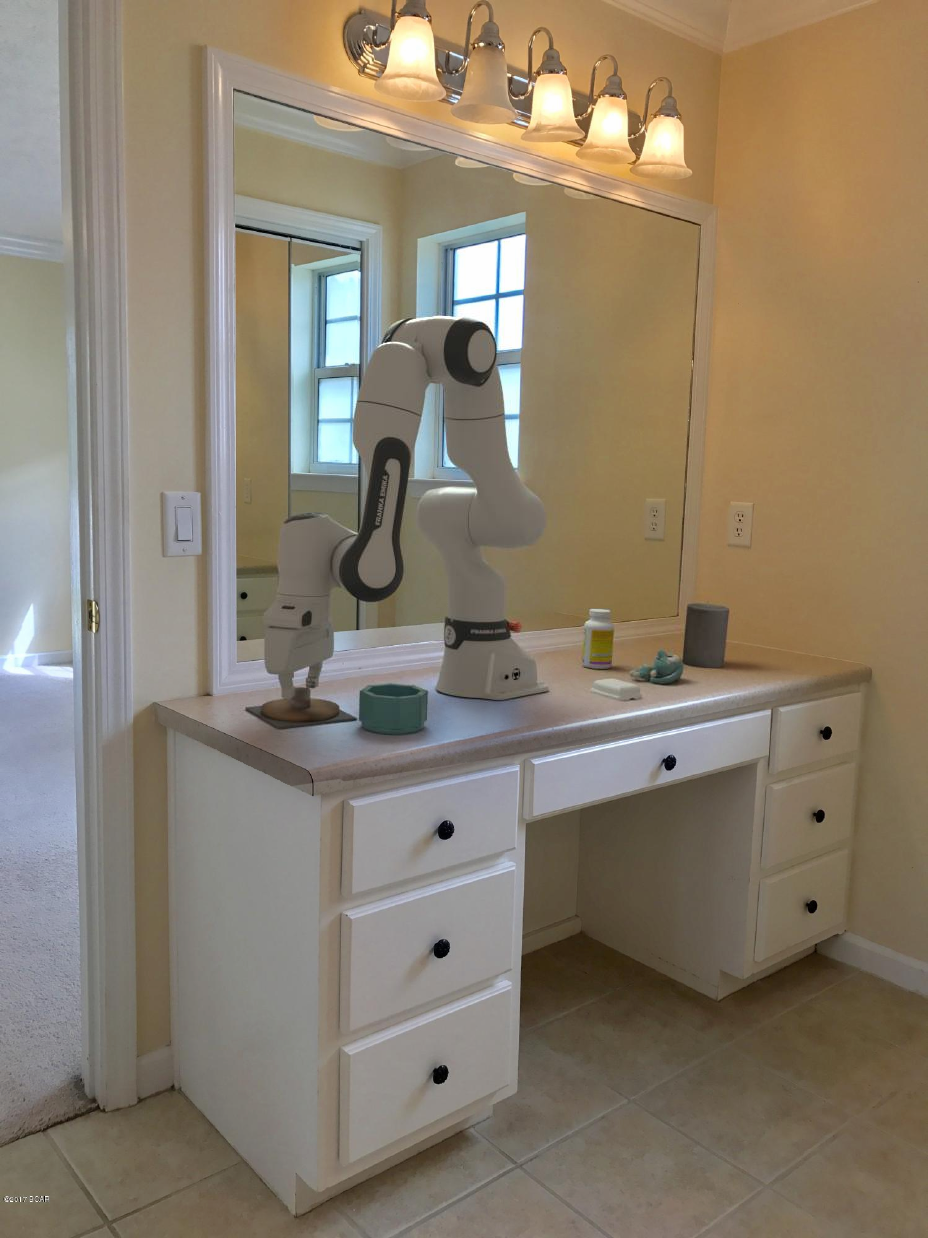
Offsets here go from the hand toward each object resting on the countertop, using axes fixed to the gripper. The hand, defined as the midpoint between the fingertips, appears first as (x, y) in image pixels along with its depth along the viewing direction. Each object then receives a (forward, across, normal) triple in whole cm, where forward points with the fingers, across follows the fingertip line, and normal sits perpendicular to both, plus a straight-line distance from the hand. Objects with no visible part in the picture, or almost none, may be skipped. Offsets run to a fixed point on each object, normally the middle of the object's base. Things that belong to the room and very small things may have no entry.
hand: (300, 692), depth 163 cm
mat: (+4, -1, 0) cm, 4 cm away
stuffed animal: (+3, -60, +55) cm, 81 cm away
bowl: (+4, 0, +16) cm, 17 cm away
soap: (+4, -41, +48) cm, 64 cm away
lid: (+4, -1, 0) cm, 4 cm away
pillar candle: (+2, -84, +64) cm, 106 cm away
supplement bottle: (+3, -68, +41) cm, 80 cm away
